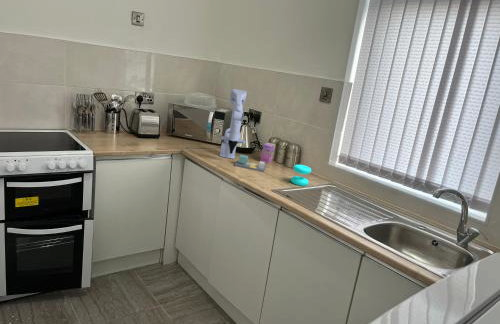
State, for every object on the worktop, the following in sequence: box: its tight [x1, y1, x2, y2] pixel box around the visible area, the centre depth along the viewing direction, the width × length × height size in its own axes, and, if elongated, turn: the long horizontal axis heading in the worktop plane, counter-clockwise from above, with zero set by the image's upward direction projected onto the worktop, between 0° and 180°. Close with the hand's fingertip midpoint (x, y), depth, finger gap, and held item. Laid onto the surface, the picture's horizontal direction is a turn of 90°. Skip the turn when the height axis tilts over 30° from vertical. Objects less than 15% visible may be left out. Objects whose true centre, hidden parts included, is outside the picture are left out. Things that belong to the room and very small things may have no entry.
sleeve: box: [238, 154, 249, 164], centre depth 232 cm, size 5×5×4 cm
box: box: [259, 142, 276, 165], centre depth 253 cm, size 10×6×12 cm, turn 161°
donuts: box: [290, 164, 312, 187], centre depth 214 cm, size 10×10×10 cm
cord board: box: [234, 159, 267, 173], centre depth 232 cm, size 18×12×4 cm, turn 83°
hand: (231, 153), depth 232 cm, fingers closed
